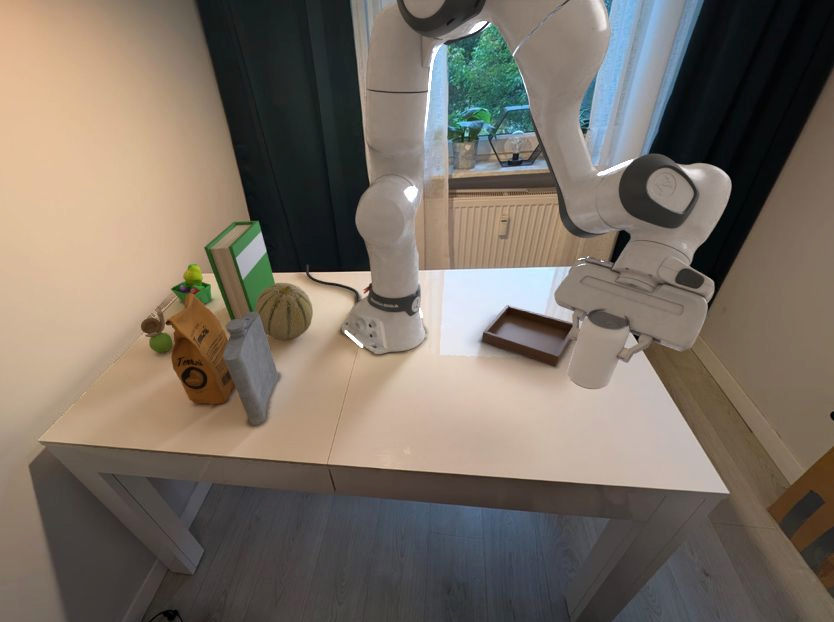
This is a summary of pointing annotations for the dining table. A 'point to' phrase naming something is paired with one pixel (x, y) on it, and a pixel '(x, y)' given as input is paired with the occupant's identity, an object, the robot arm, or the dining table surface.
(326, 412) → the dining table surface
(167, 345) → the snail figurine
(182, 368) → the coffee package
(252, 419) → the hip flask
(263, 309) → the cantaloupe
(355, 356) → the dining table surface
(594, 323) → the can
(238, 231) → the hardback book
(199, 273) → the fruit basket
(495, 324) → the tray
